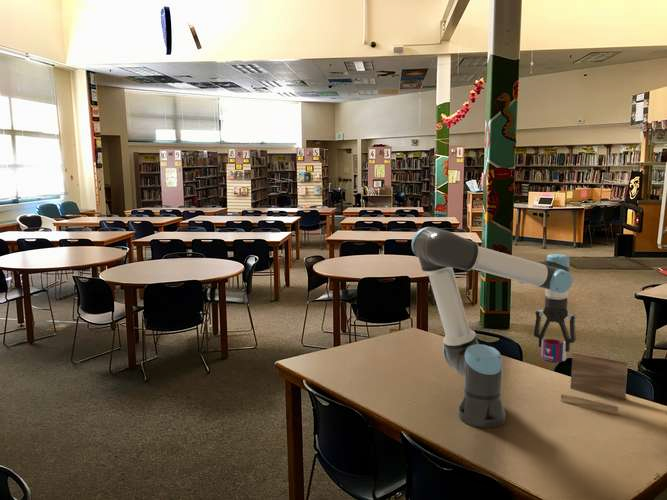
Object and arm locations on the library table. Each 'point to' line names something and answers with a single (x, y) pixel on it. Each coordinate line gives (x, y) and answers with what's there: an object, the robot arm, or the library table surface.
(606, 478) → the library table surface
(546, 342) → the mug
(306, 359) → the library table surface
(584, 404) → the cleat ledge
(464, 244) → the robot arm
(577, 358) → the wall board
